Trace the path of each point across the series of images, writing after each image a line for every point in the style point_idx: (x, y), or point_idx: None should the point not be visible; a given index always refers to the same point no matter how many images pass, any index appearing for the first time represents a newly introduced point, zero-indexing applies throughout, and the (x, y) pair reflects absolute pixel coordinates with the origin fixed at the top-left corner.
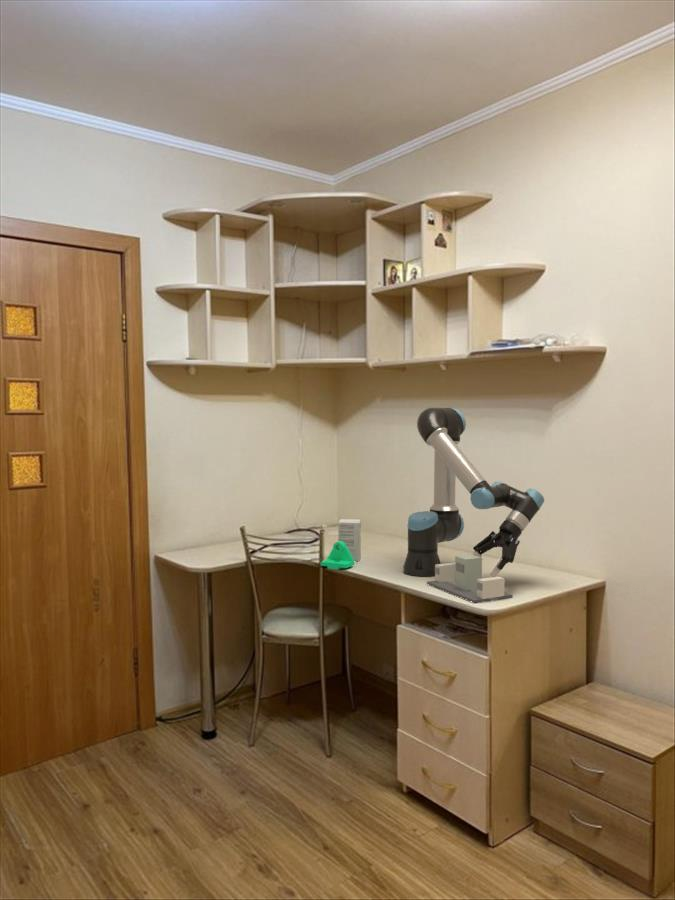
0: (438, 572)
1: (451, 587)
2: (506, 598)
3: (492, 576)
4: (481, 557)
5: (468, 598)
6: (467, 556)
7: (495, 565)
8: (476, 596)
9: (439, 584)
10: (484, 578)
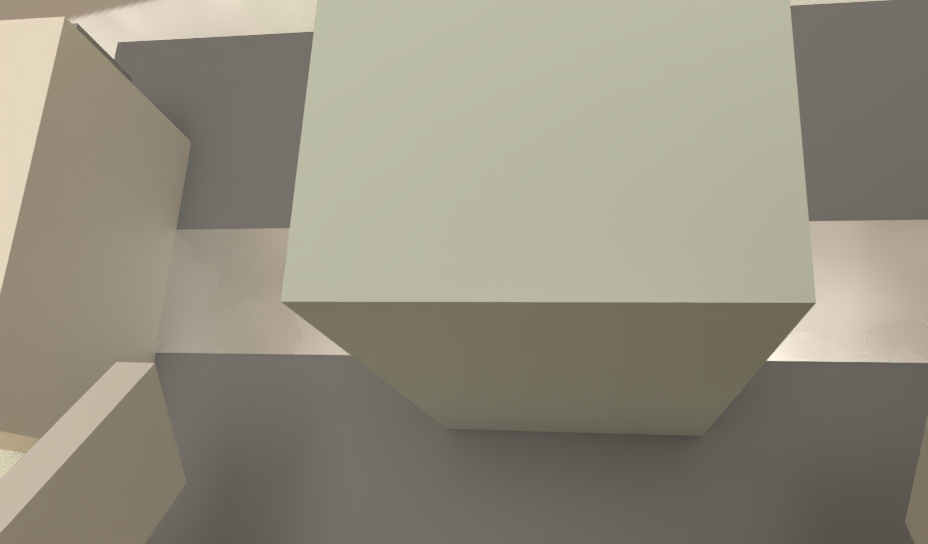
0: None
1: None
2: None
3: (169, 450)
4: (302, 300)
5: (212, 40)
6: (603, 38)
7: (4, 487)
8: (207, 145)
9: (911, 56)
10: (26, 128)
